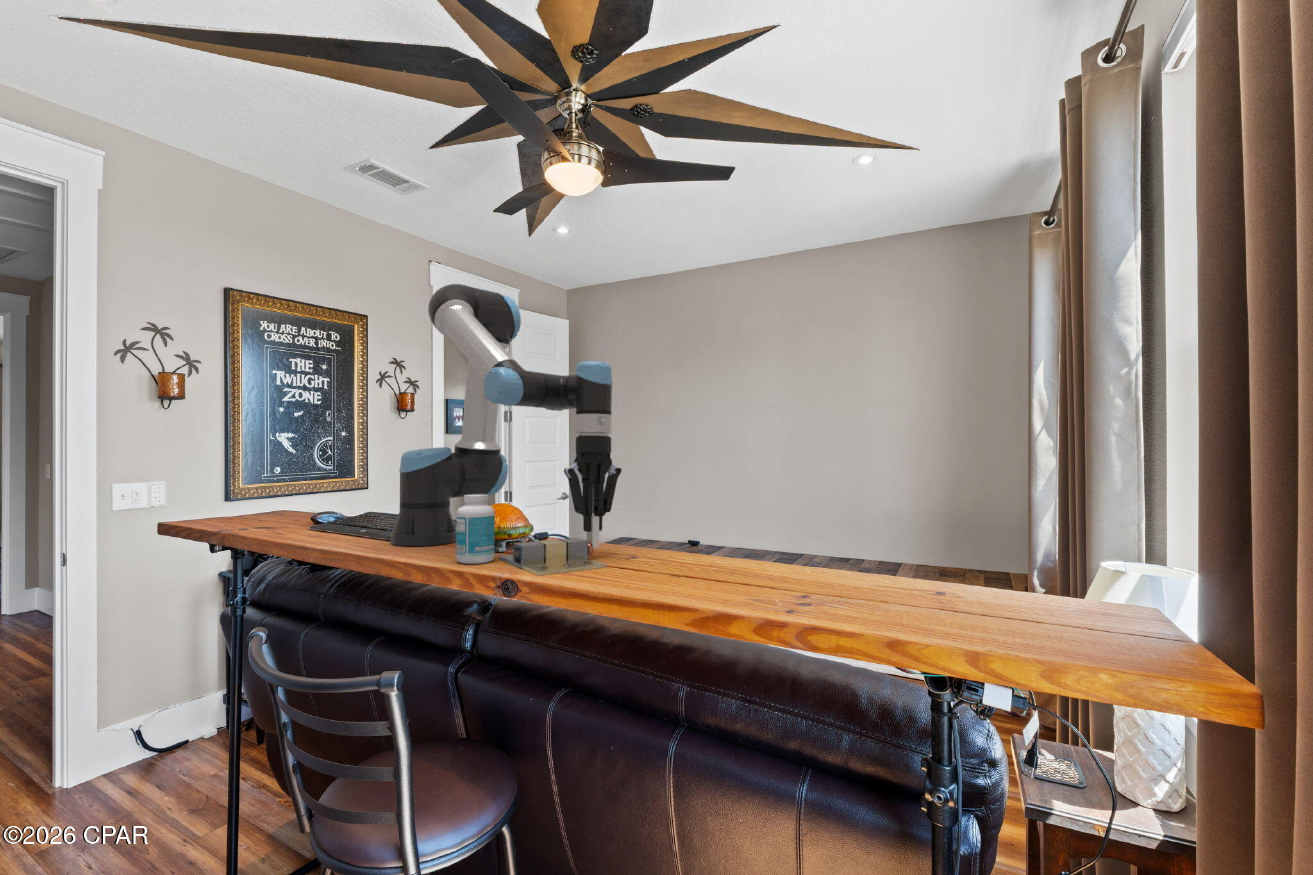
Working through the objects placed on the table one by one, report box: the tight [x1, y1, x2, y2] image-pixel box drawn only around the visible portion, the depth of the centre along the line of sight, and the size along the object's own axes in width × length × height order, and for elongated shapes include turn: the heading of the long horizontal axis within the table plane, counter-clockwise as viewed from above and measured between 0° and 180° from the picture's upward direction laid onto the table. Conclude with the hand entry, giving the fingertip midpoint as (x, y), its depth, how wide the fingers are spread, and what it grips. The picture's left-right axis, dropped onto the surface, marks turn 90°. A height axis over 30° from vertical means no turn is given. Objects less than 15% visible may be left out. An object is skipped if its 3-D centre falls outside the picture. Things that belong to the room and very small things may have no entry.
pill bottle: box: [455, 494, 496, 565], centre depth 118 cm, size 8×7×14 cm
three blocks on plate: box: [498, 537, 607, 576], centre depth 116 cm, size 20×14×4 cm
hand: (592, 546), depth 122 cm, fingers closed
